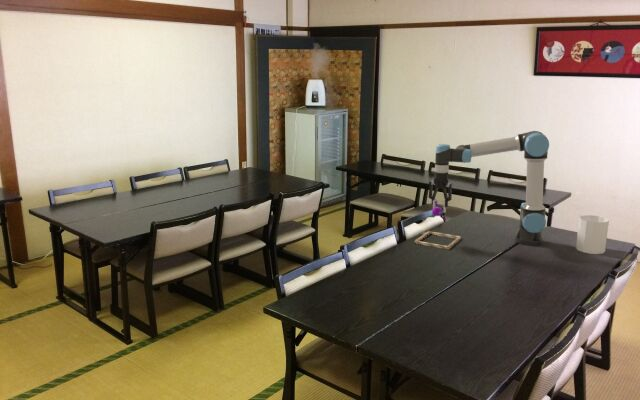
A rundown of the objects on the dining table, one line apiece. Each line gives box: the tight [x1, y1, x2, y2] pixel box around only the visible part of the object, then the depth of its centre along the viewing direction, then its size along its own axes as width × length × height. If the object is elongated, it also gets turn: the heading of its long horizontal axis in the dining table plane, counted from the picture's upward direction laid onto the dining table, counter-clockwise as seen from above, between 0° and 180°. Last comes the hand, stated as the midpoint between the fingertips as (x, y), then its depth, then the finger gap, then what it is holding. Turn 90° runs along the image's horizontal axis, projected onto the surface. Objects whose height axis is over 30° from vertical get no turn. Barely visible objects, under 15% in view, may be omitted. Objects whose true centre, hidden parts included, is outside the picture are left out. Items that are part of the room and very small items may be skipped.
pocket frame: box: [413, 230, 462, 250], centre depth 312 cm, size 23×22×2 cm
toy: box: [429, 200, 447, 221], centre depth 306 cm, size 12×10×15 cm
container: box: [575, 214, 610, 255], centre depth 295 cm, size 14×14×18 cm
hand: (439, 211), depth 308 cm, fingers closed on toy, 5 cm apart
